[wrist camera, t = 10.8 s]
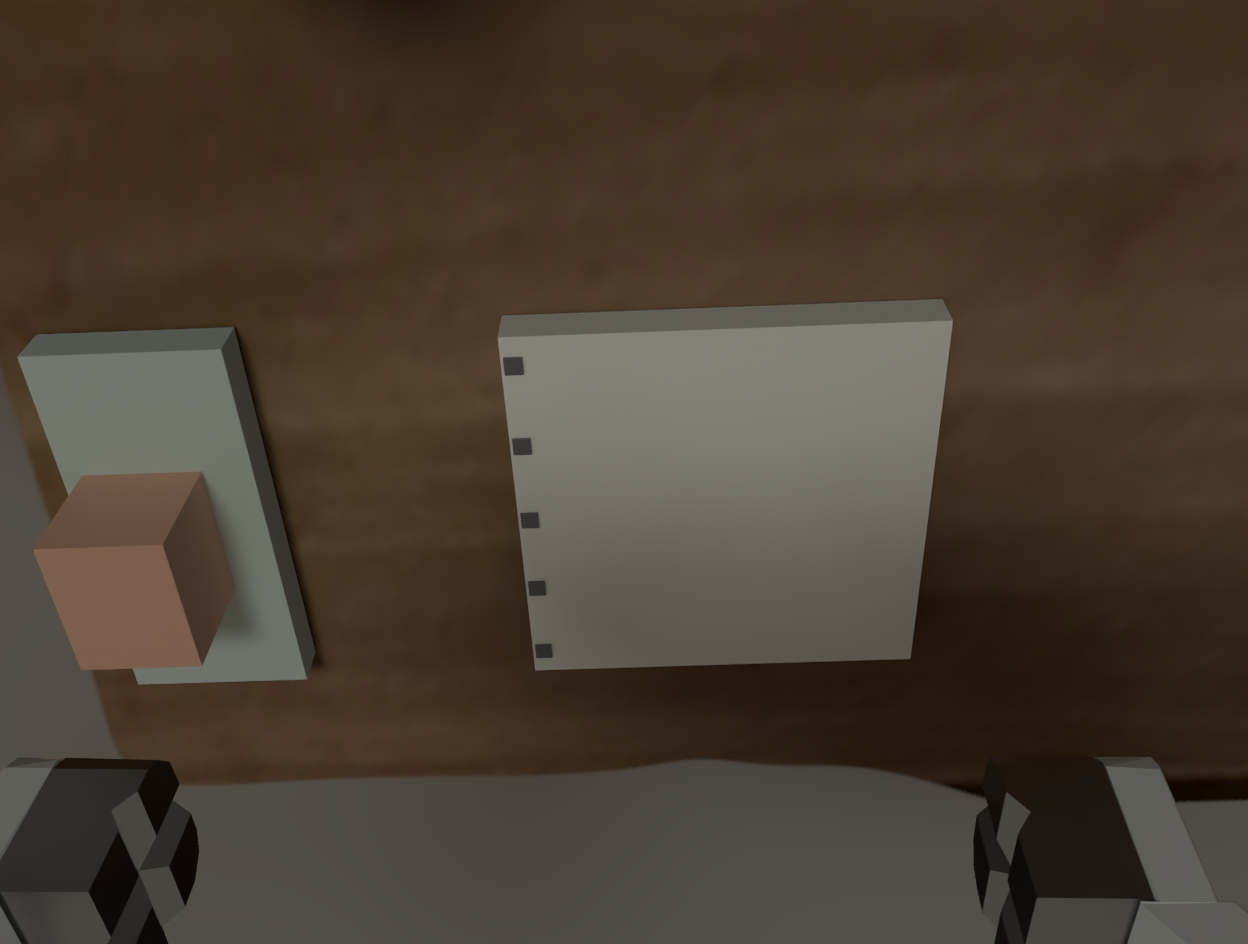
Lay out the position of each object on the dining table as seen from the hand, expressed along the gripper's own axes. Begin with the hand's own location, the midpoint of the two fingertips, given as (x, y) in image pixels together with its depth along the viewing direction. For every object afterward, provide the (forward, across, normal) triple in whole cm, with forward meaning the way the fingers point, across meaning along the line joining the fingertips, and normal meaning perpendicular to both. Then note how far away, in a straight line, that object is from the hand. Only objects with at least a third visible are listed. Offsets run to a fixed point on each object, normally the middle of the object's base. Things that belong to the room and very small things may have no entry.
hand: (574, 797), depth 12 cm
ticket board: (+26, -2, +15) cm, 30 cm away
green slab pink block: (+25, +17, +15) cm, 34 cm away
